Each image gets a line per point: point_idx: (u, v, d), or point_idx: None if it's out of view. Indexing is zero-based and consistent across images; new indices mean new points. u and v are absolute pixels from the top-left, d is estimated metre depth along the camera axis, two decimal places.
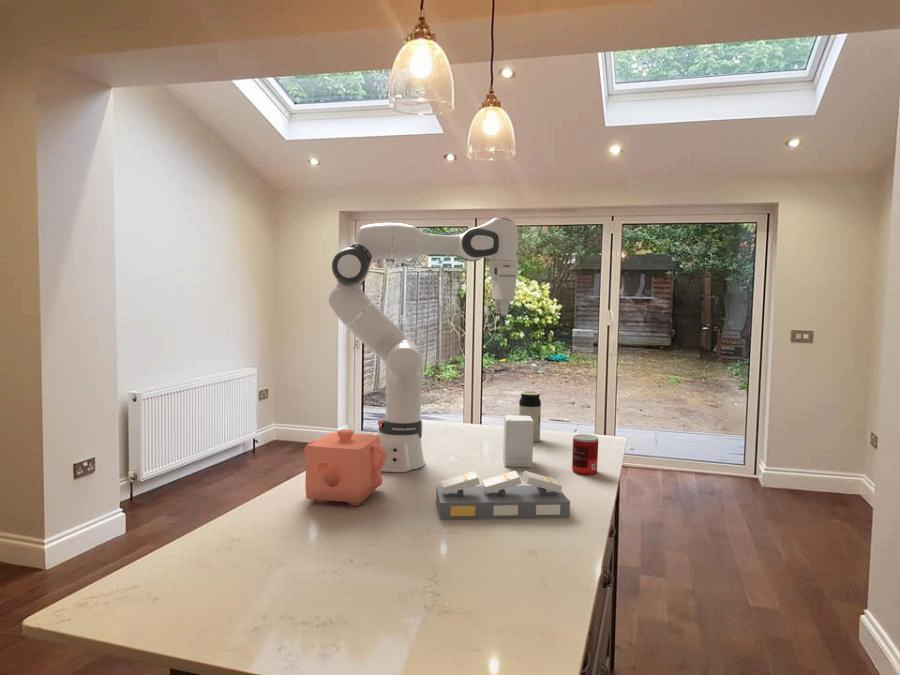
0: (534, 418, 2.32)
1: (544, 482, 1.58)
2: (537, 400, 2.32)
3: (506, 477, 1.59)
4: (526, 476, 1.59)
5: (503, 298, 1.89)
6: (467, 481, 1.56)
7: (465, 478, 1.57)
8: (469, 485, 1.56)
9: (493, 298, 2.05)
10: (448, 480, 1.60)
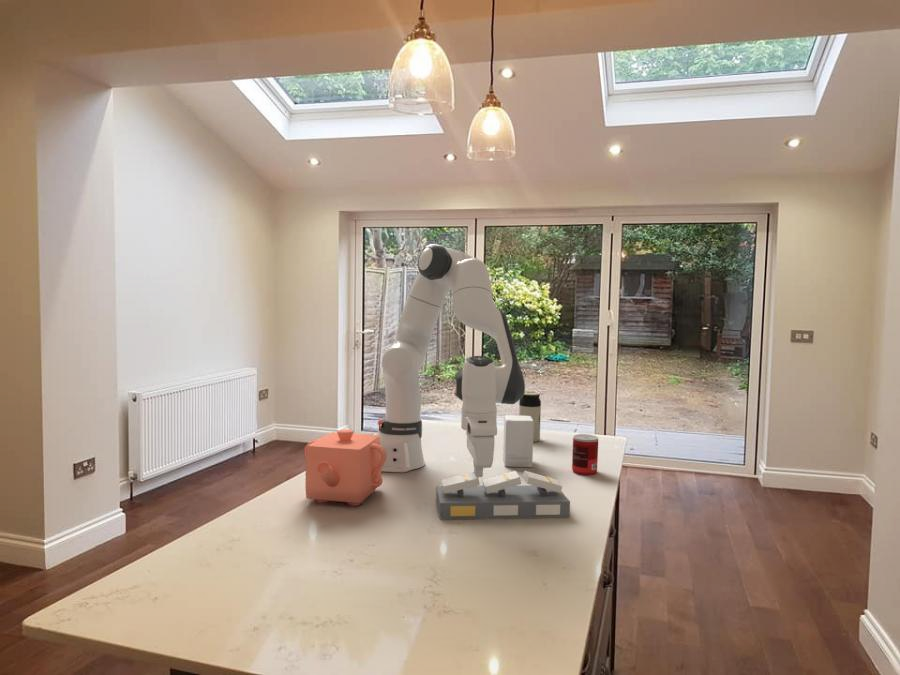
0: (534, 418, 2.32)
1: (544, 482, 1.58)
2: (537, 400, 2.32)
3: (506, 477, 1.59)
4: (526, 476, 1.59)
5: (478, 466, 1.49)
6: (467, 481, 1.56)
7: (465, 478, 1.57)
8: (469, 485, 1.56)
9: None
10: (448, 479, 1.60)
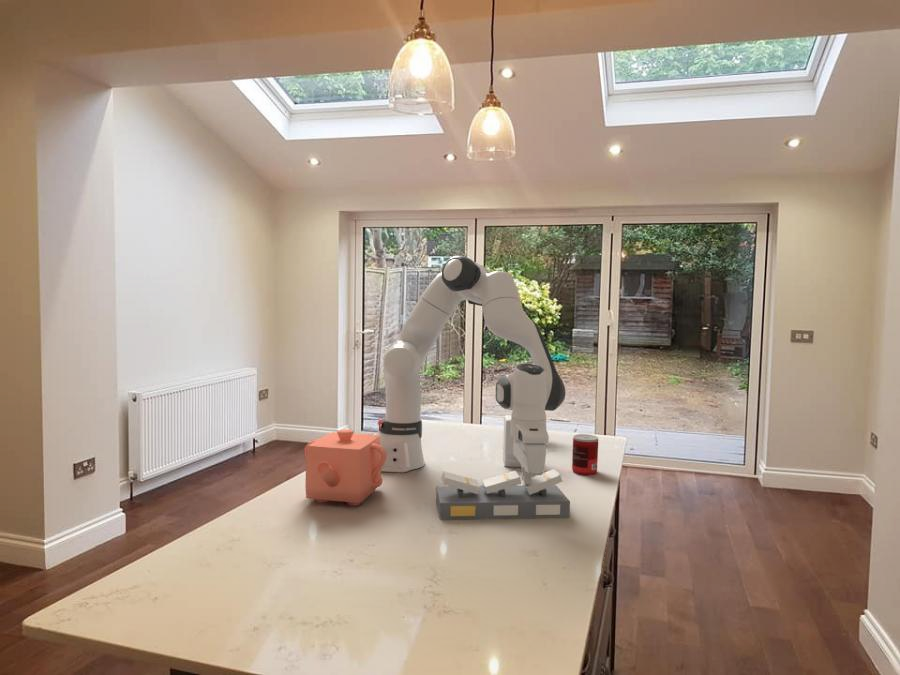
0: None
1: (543, 483, 1.58)
2: None
3: (506, 477, 1.59)
4: (526, 488, 1.59)
5: (530, 473, 1.50)
6: (468, 485, 1.56)
7: (467, 481, 1.57)
8: (468, 489, 1.56)
9: (515, 456, 1.66)
10: (450, 474, 1.60)
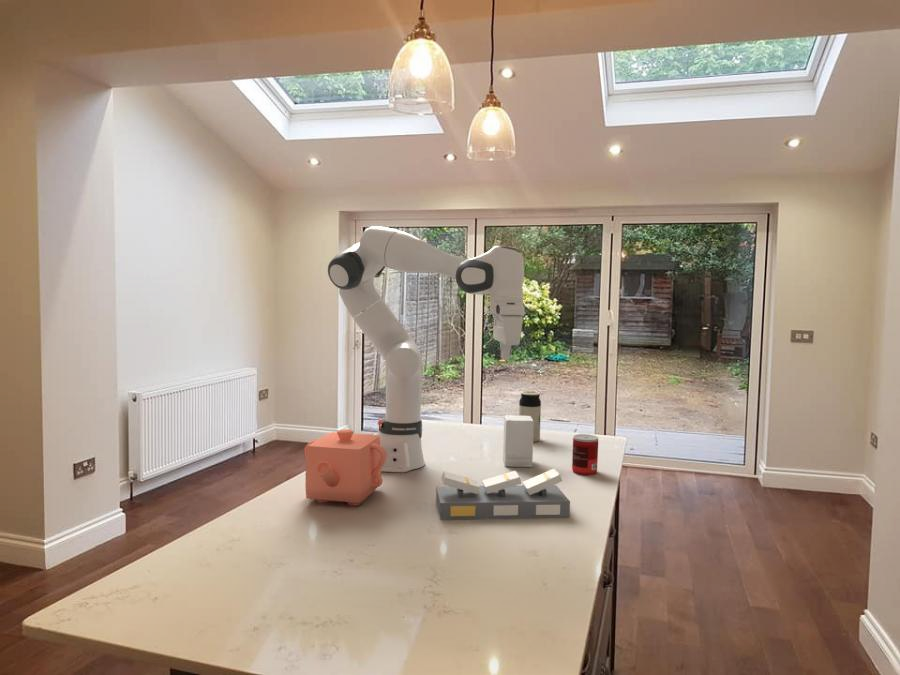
0: (534, 418, 2.32)
1: (542, 483, 1.58)
2: (537, 400, 2.32)
3: (506, 477, 1.59)
4: (526, 488, 1.59)
5: (507, 343, 1.58)
6: (468, 485, 1.56)
7: (467, 481, 1.57)
8: (468, 489, 1.56)
9: (495, 339, 1.74)
10: (450, 474, 1.60)
